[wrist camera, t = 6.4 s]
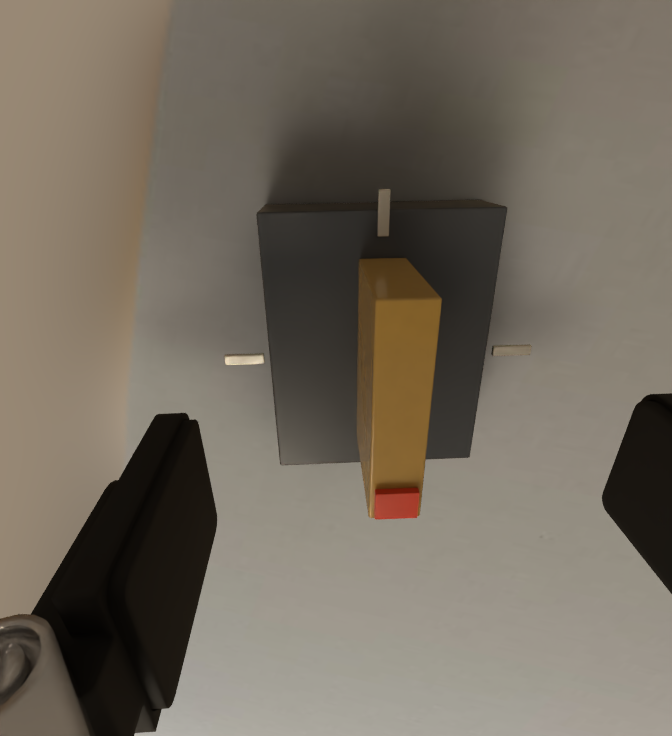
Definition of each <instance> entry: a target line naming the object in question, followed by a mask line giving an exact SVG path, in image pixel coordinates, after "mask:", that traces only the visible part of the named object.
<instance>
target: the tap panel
mask: <svg viewBox="0 0 672 736" xmlns="http://www.w3.org/2000/svg"><path fill="white" fill-rule="evenodd" d="M506 213H507V207H505V206H502V205H498V204H494V203H491V202H487V201H483V200H441V201H396V202H390V189H378V202H352V203H308V204H266V205H265V206H264V207H263V208H262V209H261V210H259V211H258V212H257V225H258V235H259V246H260V257H261V267H262V278H263V288H264V299H265V309H266V320H267V330H268V341H269V351H270V362H271V373H272V383H273V394H274V404H275V415H276V425H277V436H278V446H279V457H280V464H281V465H299V464H323V463H348V462H361V461H360V454H359V447H358V440H357V434H356V433H357V360H358V287H359V259H371V258H407V259H408V261H409V262H410V263H411V264H412V265H413V266H414V267H415V268H416V270H417V271H418V272H419V273H420V274H421V275H422V276H423V278H424V279H425V280H426V281H427V282H428V283H429V284H430V285H431V287H432V288H433V289H434V290H435V291H436V292H437V293H438V295H439V296H440V297H441V298H442V305H441V315H440V325H439V334H438V344H437V353H436V363H435V373H434V382H433V392H432V402H431V411H430V421H429V430H428V440H427V450H426V459H445V458H468V457H470V450H471V444H472V437H473V431H474V424H475V417H476V411H477V404H478V398H479V391H480V384H481V378H482V371H483V365H484V358H485V351H486V345H487V338H488V332H489V325H490V318H491V312H492V305H493V299H494V292H495V286H496V279H497V272H498V266H499V259H500V253H501V246H502V239H503V233H504V226H505V220H506ZM531 347H532V346H531V345H530V344H528V345H498V346H493V347H492V356H505V355H530V352H531ZM224 358H225V364H226V365H239V364H264V362H265V360H264V353H255V354H225V356H224Z"/></svg>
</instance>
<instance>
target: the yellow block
mask: <svg viewBox="0 0 672 736" xmlns="http://www.w3.org/2000/svg"><path fill="white" fill-rule="evenodd" d="M441 305H442V298H441V297H440V296H439V295H438V293H437V292H436V291H435V290H434V289H433V288H432V287H431V285H430V284H429V283H428V282H427V281H426V280H425V279H424V278H423V276H422V275H421V274H420V273H419V272H418V271H417V270H416V268H415V267H414V266H413V265H412V264H411V263H410V262H409V261H408V259H407V258H371V259H359V287H358V360H357V433H356V434H357V440H358V447H359V454H360V461H361V468H362V475H363V481H364V488H365V495H366V502H367V509H368V516H369V517H370V518H375V519H398V518H417V516H419V515H420V507H421V498H422V488H423V478H424V469H425V459H426V450H427V440H428V430H429V421H430V411H431V402H432V392H433V382H434V373H435V363H436V353H437V344H438V334H439V325H440V315H441Z"/></svg>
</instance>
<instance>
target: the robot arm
mask: <svg viewBox="0 0 672 736" xmlns="http://www.w3.org/2000/svg"><path fill="white" fill-rule="evenodd" d="M602 502H603V506H604V508H605V510H606V511H607V513H608V514H609V515H610V517H611V518H612V519H613V520H614V522H615V523H616V524H617V526H618V527H619V528H620V529H621V531H622V532H623V533H624V534H625V536H626V537H627V538H628V539H629V541H630V542H631V543H632V544H633V546H634V547H635V548H636V549H637V551H638V552H639V553H640V555H641V556H642V557H643V558H644V560H645V561H646V562H647V563H648V565H649V566H650V567H651V568H652V570H653V571H654V572H655V573H656V575H657V576H658V577H659V579H660V580H661V581H662V582H663V584H664V585H665V586H666V587H667V589H668V590H669V591H670V592H671V594H672V394H650V395H647V396H646V397H644V398H643V399H642V401H641V402H639V403H638V404H637V405H636V406H635V408H634V411H633V413H632V416H631V419H630V421H629V424H628V427H627V430H626V432H625V435H624V438H623V440H622V443H621V446H620V448H619V451H618V454H617V456H616V459H615V462H614V465H613V467H612V470H611V473H610V475H609V478H608V481H607V483H606V486H605V489H604V491H603V495H602ZM216 527H217V513H216V507H215V503H214V498H213V493H212V488H211V483H210V478H209V473H208V468H207V463H206V458H205V453H204V448H203V444H202V439H201V434H200V429H199V424H198V422H197V420H189V417H188V415H187V414H186V413H174V414H158V415H156V416H155V417H154V419H153V421H152V422H151V424H150V426H149V428H148V429H147V431H146V433H145V435H144V436H143V438H142V440H141V442H140V443H139V445H138V447H137V449H136V450H135V452H134V454H133V456H132V457H131V459H130V461H129V463H128V464H127V466H126V468H125V470H124V471H123V473H122V475H121V477H120V478H119V480H115V481H113V482H111V483H110V484H109V485H108V487H107V488H106V489H105V490H104V492H103V494H102V496H101V497H100V499H99V501H98V502H97V504H96V506H95V507H94V509H93V511H92V512H91V514H90V516H89V517H88V519H87V521H86V522H85V524H84V526H83V527H82V529H81V531H80V532H79V534H78V536H77V538H76V539H75V541H74V543H73V544H72V546H71V548H70V549H69V551H68V553H67V554H66V556H65V558H64V559H63V561H62V563H61V564H60V566H59V568H58V570H57V571H56V573H55V575H54V576H53V578H52V580H51V581H50V583H49V585H48V586H47V588H46V590H45V592H44V593H43V595H42V596H41V598H40V600H39V601H38V603H37V605H36V607H35V608H34V610H33V611H32V613H31V615H27V614H18V615H14V616H10V617H6V618H2V619H0V736H134V734H135V733H140V732H155V731H156V728H157V724H158V721H159V717H160V713H161V709H165V708H170V706H171V705H172V703H173V701H174V697H175V694H176V690H177V686H178V682H179V678H180V674H181V670H182V666H183V662H184V658H185V654H186V650H187V646H188V642H189V638H190V634H191V629H192V625H193V621H194V617H195V613H196V609H197V605H198V601H199V597H200V593H201V589H202V585H203V581H204V577H205V573H206V569H207V565H208V561H209V557H210V553H211V549H212V545H213V541H214V537H215V533H216Z"/></svg>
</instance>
